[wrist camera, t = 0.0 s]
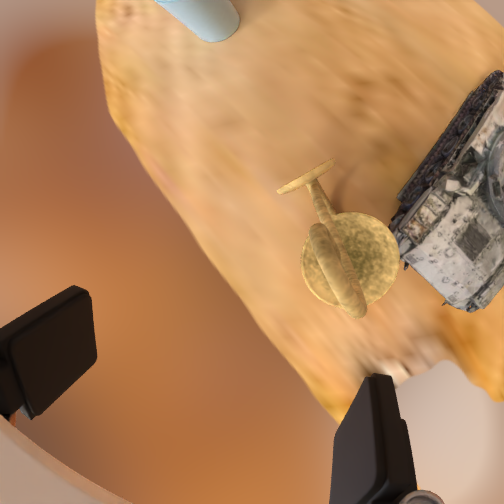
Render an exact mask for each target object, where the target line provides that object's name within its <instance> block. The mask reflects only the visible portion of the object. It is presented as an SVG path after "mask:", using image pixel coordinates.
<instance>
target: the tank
mask: <svg viewBox="0 0 504 504" xmlns="http://www.w3.org/2000/svg"><path fill="white" fill-rule="evenodd" d="M483 88H484V89H483ZM480 92H481V93H480ZM397 198H398V199H399V200H400V201H401V202H402V204H401V205H400V207H399V209H398V211H397V213H396V214H395V216H394V217H393V218H392V219H391V220H392V223H391V224H390V225H389V227H388V228H389V230H390V231H391V232H392V234H393V236H394V237H395V239H396V242H397V245H398V248H399V254H400V260H402V261H403V262H405V265H404V270H406V269H407V268H408V266H409V264H410V265H411V266H412V268H413V269H414V270H416V271H417V272H418V273H419V274H420V275H422V276H423V277H424V278H425V279H426V280H427V281H428V282H429V283H430V284H431V285H432V286H433V287H434V288H435V289H436V290H437V291H438V292H439V293H440V294H441V295H442V296H443V297H444V298H446V300H445V302H444V303H445V304H446V303H448V304H449V305H451V306H453V307H455V308H457V309H461V310H464V311H467V312H469V313H471V312H474V311H476V310H478V309H479V308H480V309H484V308H485V307H486V306H487V305H488V304H489V303H490V302H491V300H492V299H493V298H494V297H495V295H496V294H497V293H498V292H499V290H500V289H501V288H502V287H503V286H504V73H503V72H501V71H500V70H496V71H494V72H493V73H491V74H490V75H489V76H488V77H487V78H486V79H485V81H484V83H483V84H482V85H480V86H479V87H478V89H477V90H476V91H475V92H473V91H472V92H471V93H470V95H469V96H468V98H467V99H466V101H465V102H464V104H463V105H462V107H461V108H460V110H459V112H458V113H457V115H456V116H455V118H454V119H453V120H452V122H451V123H450V124H449V126H448V127H447V129H446V131H445V132H444V133H443V134H442V136H441V138H440V139H439V140H438V142H437V143H436V144H435V146H434V147H433V149H432V150H431V151H430V153H429V154H428V156H427V157H426V158H425V160H424V161H423V162H422V164H421V165H420V166H419V168H418V169H417V171H416V172H415V173H414V174H413V176H412V177H411V179H410V180H409V181H408V182H407V184H406V185H405V186H404V188H403V189H402V190H401V192H400V193H399V194H398V196H397ZM405 267H407V268H406V269H405ZM444 303H443V305H445V304H444ZM443 305H442V306H443ZM470 306H471V307H470ZM469 307H470V308H469Z"/></svg>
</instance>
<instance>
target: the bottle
mask: <svg viewBox="0 0 504 504" xmlns="http://www.w3.org/2000/svg"><path fill="white" fill-rule="evenodd" d="M154 1H155V2H157V3H158V4H159V5H160V6H162V7H163V8H164V9H166V10H167V11H168V12H169V13H171V14H172V15H173V16H174V17H176V18H177V19H178V20H179V21H180V22H182V23H183V24H184V25H185V26H186V27H188V28H189V29H190V30H191V31H192V32H194V33H195V34H196V35H197V36H198V37H199V38H201V39H202V40H204V41H207V42H219V41H222V40H225V39H227V38H228V37H230V36H231V35H232V34H233V33H234V32H235V31H236V30H237V28H238V26H239V23H240V17H239V14H238V12H237V10H236V9H235V7H234V6H233V4H232V3H231V2H230V0H154Z"/></svg>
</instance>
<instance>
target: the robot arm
mask: <svg viewBox="0 0 504 504" xmlns="http://www.w3.org/2000/svg"><path fill="white" fill-rule="evenodd" d="M96 359H97V349H96V341H95V333H94V322H93V311H92V300H91V297H90V296H89V292H88V291H87V290H85V289H83V288H80V287H78V286H75V285H73V286H71V287H69V288H67V289H65V290H64V291H62V292H60V293H58V294H57V295H55V296H53V297H51V298H50V299H48V300H46V301H45V302H43V303H41V304H40V305H38V306H36V307H35V308H33V309H31V310H30V311H28V312H26V313H25V314H23V315H21V316H20V317H18V318H16V319H15V320H13V321H11V322H10V323H8V324H7V325H5V326H3V327H2V328H0V504H133V503H131V502H129V501H127V500H125V499H123V498H121V497H119V496H117V495H115V494H113V493H111V492H110V491H108V490H106V489H104V488H102V487H100V486H99V485H97V484H95V483H93V482H92V481H90V480H88V479H86V478H85V477H83V476H82V475H80V474H78V473H77V472H75V471H74V470H72V469H71V468H69V467H67V466H66V465H64V464H63V463H61V462H60V461H58V460H57V459H56V458H54V457H53V456H51V455H50V454H49V453H47V452H46V451H44V450H43V449H42V448H40V447H39V446H38V445H36V444H35V443H34V442H32V441H31V440H30V439H29V438H27V437H26V436H25V435H24V434H22V433H21V432H20V431H19V430H18V429H16V428H15V425H16V411H17V410H18V409H19V408H20V411H21V413H22V414H24V415H25V416H26V417H28V418H29V419H30V420H32V419H33V418H34V417H35V416H38V415H41V414H42V413H43V412H44V411H45V410H46V409H47V408H48V407H49V406H50V405H51V404H52V403H53V402H54V401H55V400H56V399H58V397H60V396H61V395H62V394H63V393H64V392H65V391H66V390H67V389H68V388H69V387H70V386H71V385H72V384H73V383H74V382H75V381H76V380H78V379H79V378H80V377H81V376H82V375H83V374H84V373H85V372H86V371H87V370H88V369H89V368H90V367H91V366H92V365H93V364H94V363H95V362H96ZM329 504H444V502H443V500H442V499H441V498H440V497H439V496H438V495H437V494H435V493H433V492H431V491H426V490H417V482H416V475H415V469H414V462H413V457H412V450H411V445H410V439H409V434H408V429H407V424H406V422H405V420H404V419H401V417H400V413H399V407H398V402H397V397H396V393H395V388H394V384H393V379H392V377H391V376H389V375H383V374H377V373H373V374H372V375H371V377H365V379H364V381H363V383H362V385H361V387H360V389H359V391H358V393H357V395H356V397H355V399H354V400H353V402H352V404H351V406H350V408H349V410H348V412H347V414H346V415H345V417H344V419H343V421H342V423H341V424H340V426H339V428H338V430H337V432H336V434H335V437H334V447H333V464H332V477H331V490H330V501H329Z"/></svg>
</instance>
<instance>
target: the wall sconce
mask: <svg viewBox="0 0 504 504" xmlns="http://www.w3.org/2000/svg"><path fill="white" fill-rule="evenodd" d="M334 165H335V159H334V158H332V159H330V160H328V161H327V162H325V163H323V164H321V165H319V166H318V167H316V168H314V169H312V170H311V171H309V172H307V173H305V174H303V175H302V176H300V177H298V178H297V179H295V180H293V181H291V182H290V183H288V184H286V185H285V186H283V187H281V188H279V189H278V190H277V192H278V193H279V194H286V193H289V192H291V191H294V190H296V189H298V188H300V187H302V186H304V185H306V187H307V188H308V190H309V192H310V194H311V198H312V201H313V204H314V207H315V209H316V212H317V215H318V217H319V220H320V222H321V223H317V224H314V225H313V226H311V227H310V229H309V233H308V234H309V236H308V237H307V239H306V241H305V244H304V246H303V249H302V254H301V270H302V274H303V277H304V280H305V282H306V284H307V286H308V287H309V289H310V290H311V291H312V293H313V294H314V295H315V296H316V297H317V298H319V299H320V300H321V301H323V302H325V303H327V304H329V305H331V306H334V307H338V308H344V310H345V311H346V312H347V314H348V315H350V316H351V317H352V318H355V319H360V318H362V317H364V316H365V314H366V312H367V305H369V304H372V303H373V302H375V301H377V300H378V299H380V298H381V297H382V296H383V295H384V294H385V293H386V292H387V291H388V290H389V289H390V288H391V286H392V284H393V283H394V281H395V279H396V277H397V273H398V270H399V264H400V254H399V248H398V245H397V242H396V239H395V237H394V236H393V234H392V232H391V231H390V230H389V228H388V227H387V226H386V225H385V224H384V223H382V222H381V221H380V220H378V219H376V218H375V217H373V216H370V215H368V214H364V213H360V212H344V213H339V214H337V213H336V211H335V209H334V207H333V206H332V204H331V202H330V201H329V199H328V197H327V196H326V194H325V193H324V191H323V189H322V187H321V185H320V183H319V182H318V180H317V179H316V178H318V177H319V176H321V175H322V174H324V173H325V172H327V171H328V170H329V169H331V168H332V167H333V166H334Z"/></svg>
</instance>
